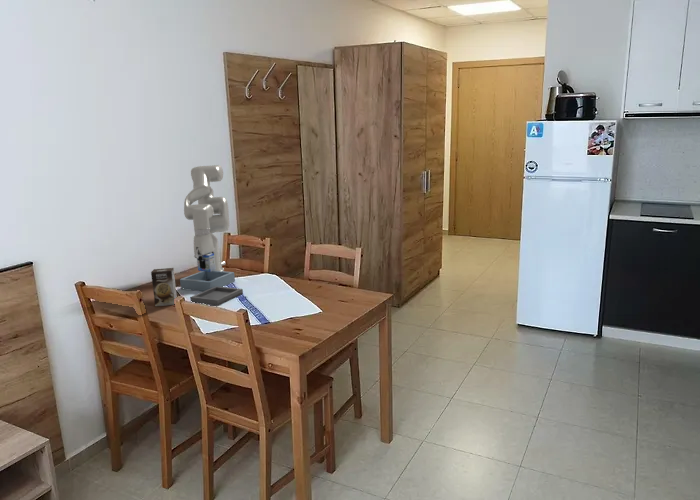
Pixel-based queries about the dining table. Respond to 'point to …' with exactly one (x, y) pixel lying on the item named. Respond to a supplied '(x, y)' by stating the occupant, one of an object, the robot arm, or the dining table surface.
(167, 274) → the coffee box
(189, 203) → the robot arm
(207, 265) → the medicine box
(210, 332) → the dining table surface
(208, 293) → the tray
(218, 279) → the deep square frame
